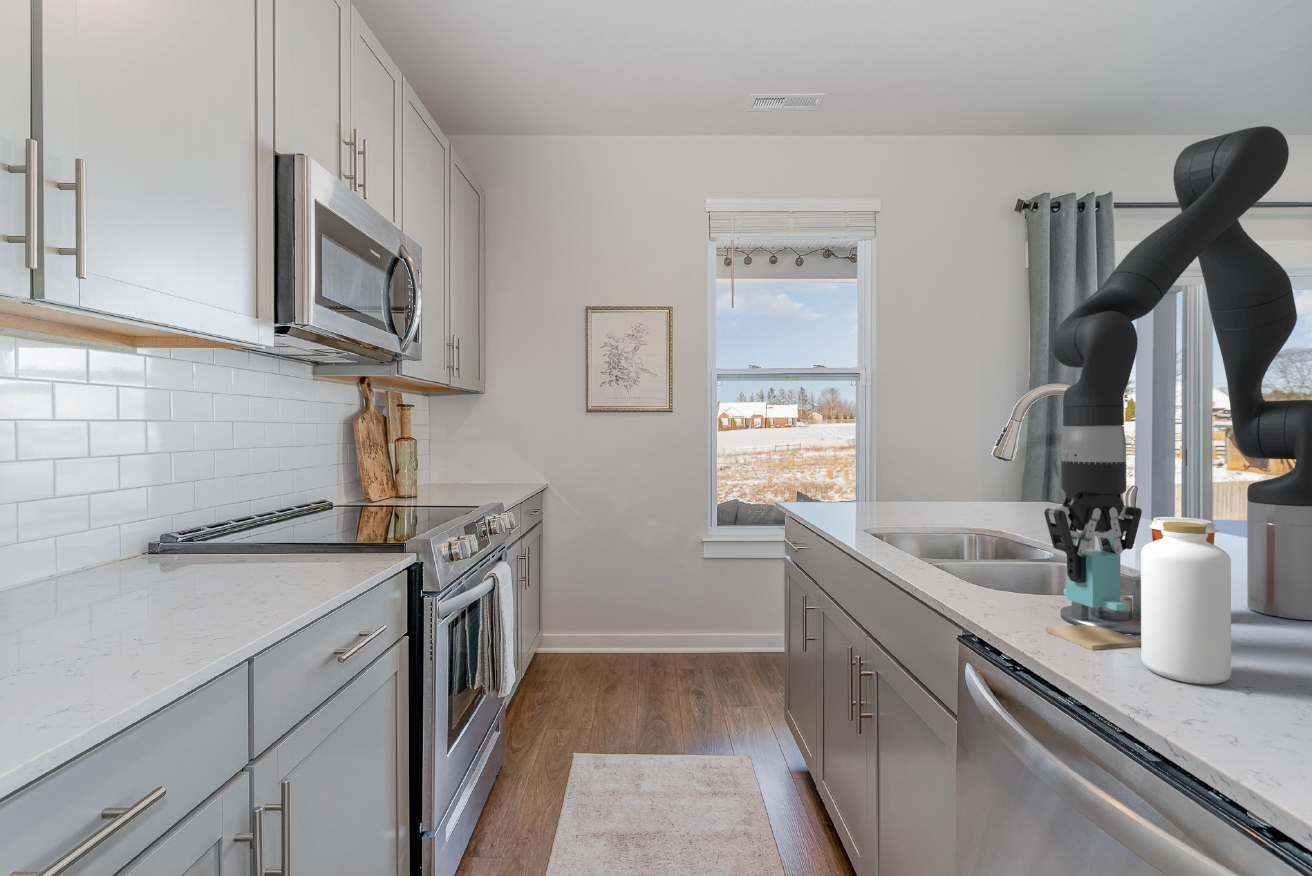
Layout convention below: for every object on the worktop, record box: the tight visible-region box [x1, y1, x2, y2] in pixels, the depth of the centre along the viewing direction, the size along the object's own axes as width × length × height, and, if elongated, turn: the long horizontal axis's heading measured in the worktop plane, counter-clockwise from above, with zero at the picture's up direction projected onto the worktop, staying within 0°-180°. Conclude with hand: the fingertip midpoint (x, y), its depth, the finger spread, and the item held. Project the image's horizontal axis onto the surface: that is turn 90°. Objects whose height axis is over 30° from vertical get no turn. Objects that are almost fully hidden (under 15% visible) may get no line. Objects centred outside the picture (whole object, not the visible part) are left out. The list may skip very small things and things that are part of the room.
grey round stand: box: [1060, 575, 1141, 636], centre depth 98 cm, size 13×13×6 cm
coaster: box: [1045, 624, 1141, 651], centre depth 91 cm, size 8×8×1 cm
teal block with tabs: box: [1063, 548, 1125, 611], centre depth 90 cm, size 9×4×7 cm, turn 10°
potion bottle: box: [1140, 522, 1232, 685], centre depth 77 cm, size 8×8×18 cm
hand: (1093, 580), depth 90 cm, fingers closed on teal block with tabs, 4 cm apart
